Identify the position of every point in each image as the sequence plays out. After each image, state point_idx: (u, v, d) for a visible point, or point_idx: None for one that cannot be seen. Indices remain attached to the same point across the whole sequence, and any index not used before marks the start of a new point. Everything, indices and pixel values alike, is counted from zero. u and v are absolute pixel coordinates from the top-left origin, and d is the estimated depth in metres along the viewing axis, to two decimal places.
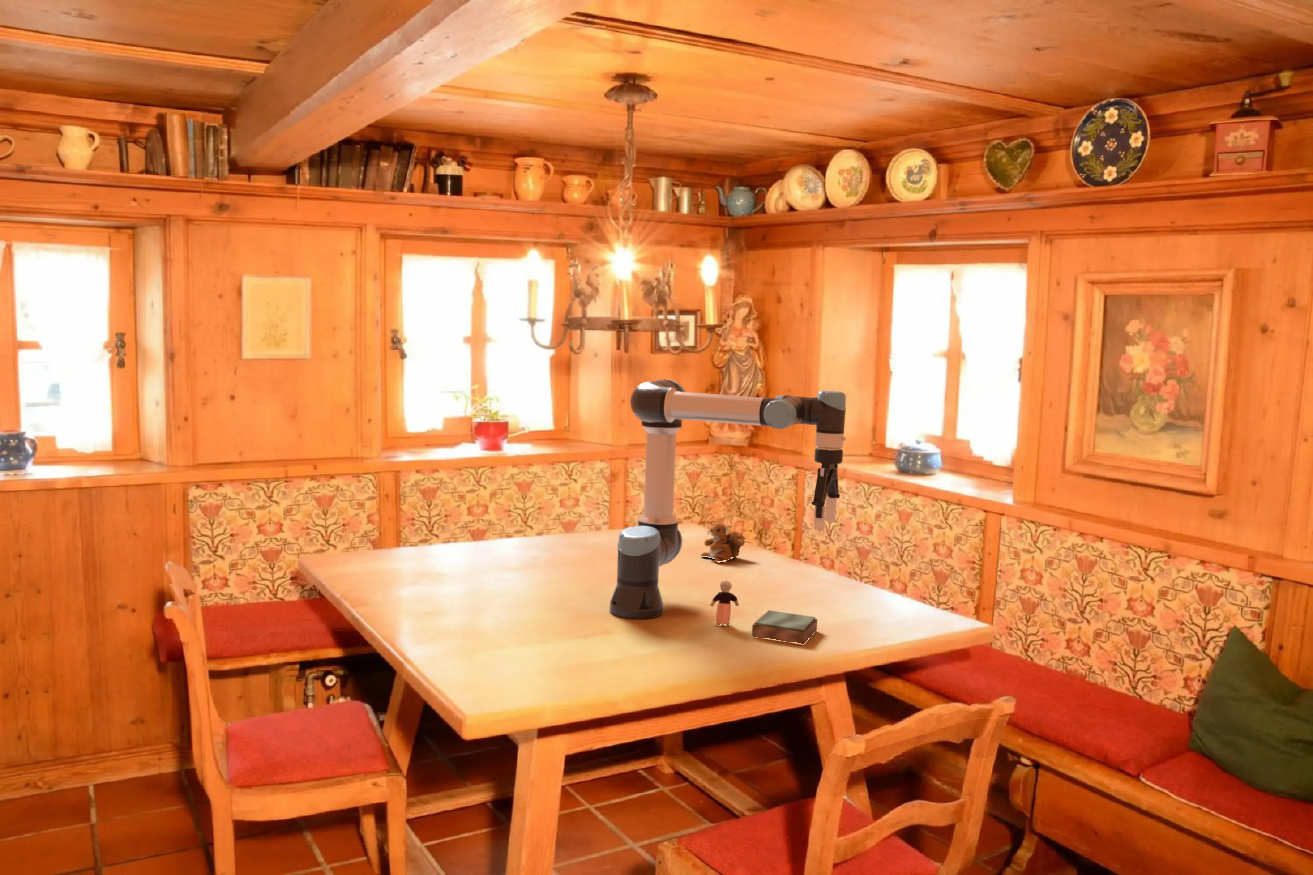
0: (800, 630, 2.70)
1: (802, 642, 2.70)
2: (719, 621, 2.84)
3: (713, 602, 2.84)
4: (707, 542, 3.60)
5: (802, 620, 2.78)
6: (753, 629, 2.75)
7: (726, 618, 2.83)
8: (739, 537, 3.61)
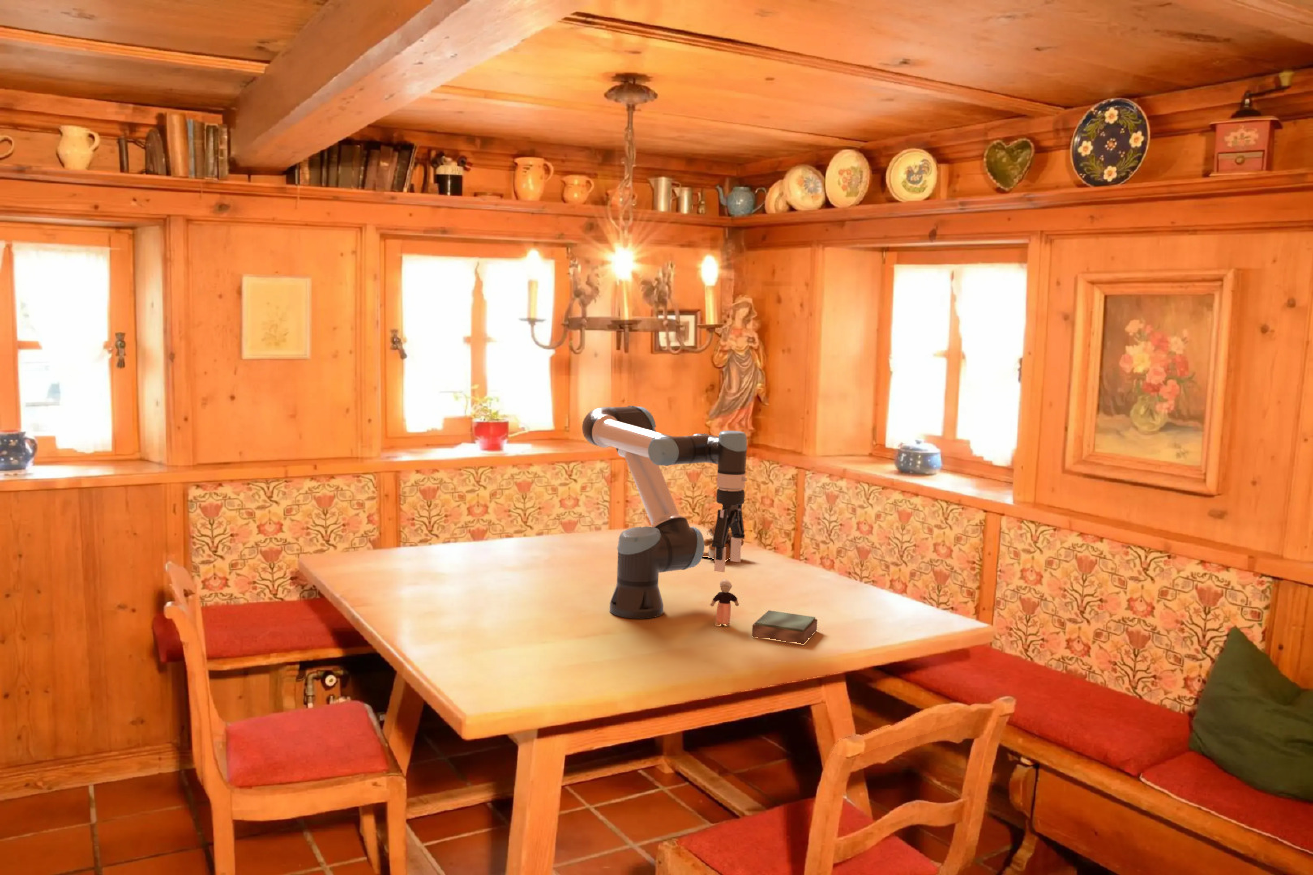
0: (800, 630, 2.70)
1: (802, 642, 2.70)
2: (719, 621, 2.84)
3: (713, 602, 2.84)
4: (706, 542, 3.60)
5: (802, 620, 2.78)
6: (753, 629, 2.75)
7: (726, 618, 2.83)
8: None
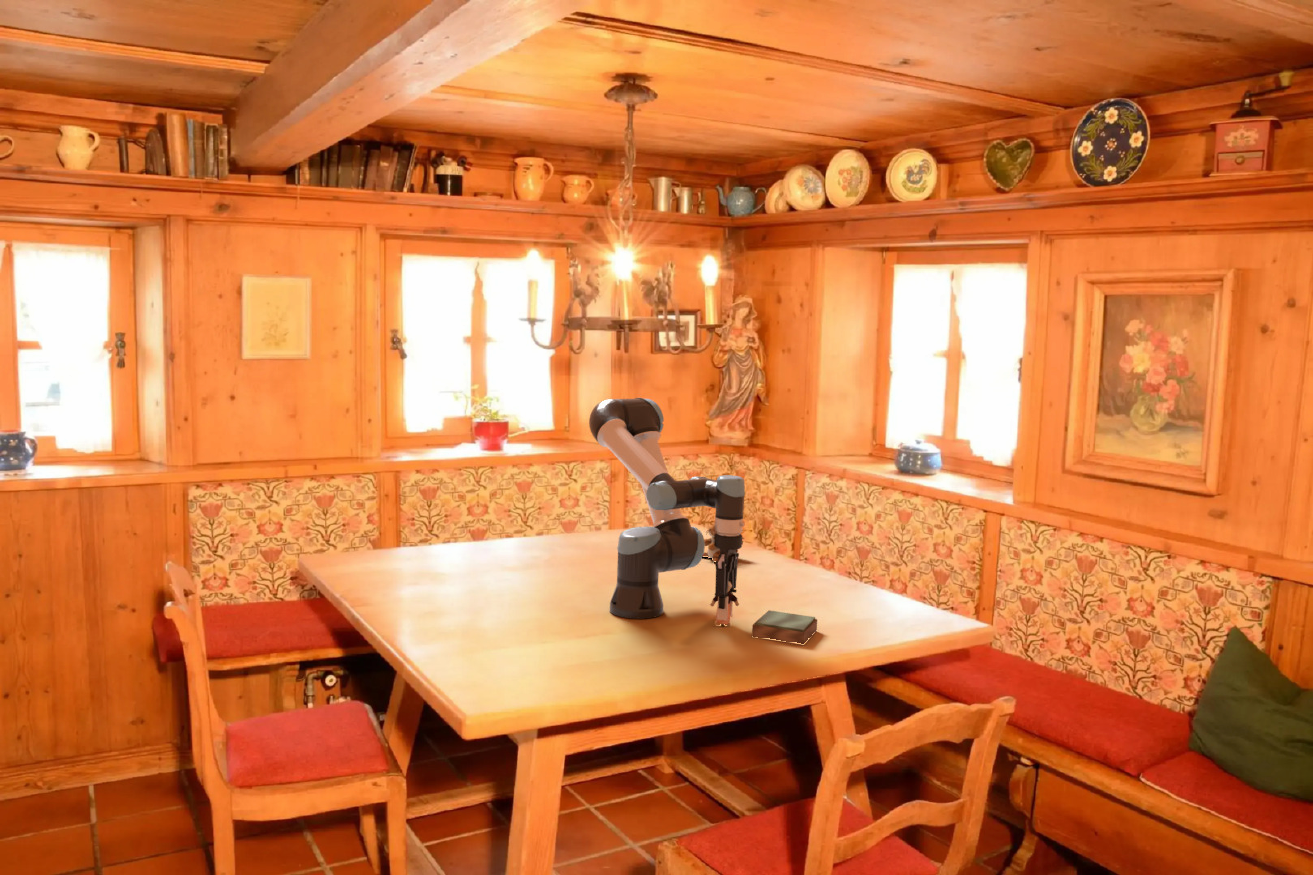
0: (800, 630, 2.70)
1: (802, 642, 2.70)
2: (719, 621, 2.84)
3: (713, 602, 2.84)
4: (705, 542, 3.60)
5: (802, 620, 2.78)
6: (753, 629, 2.75)
7: None
8: None
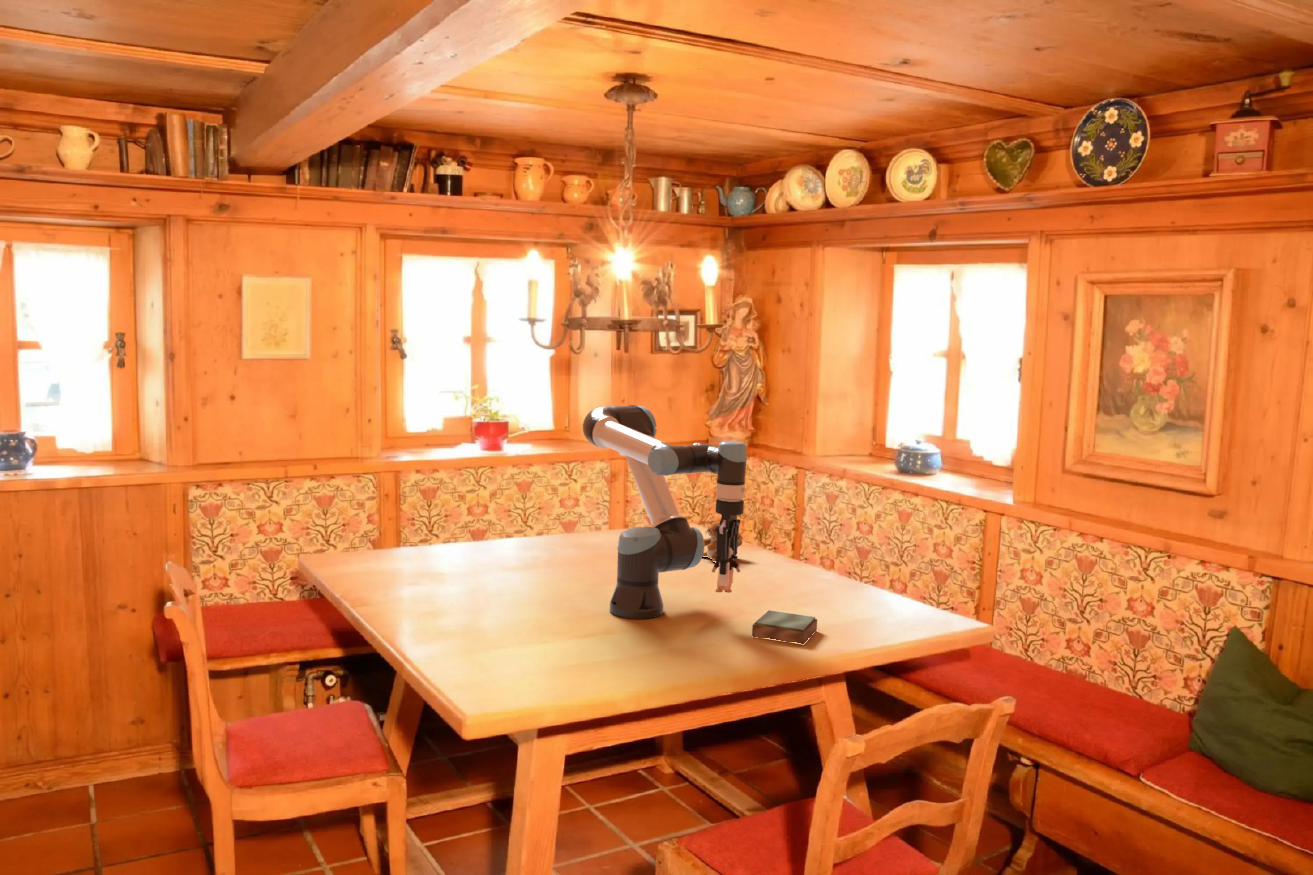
0: (800, 630, 2.70)
1: (802, 642, 2.70)
2: (720, 587, 2.84)
3: (714, 568, 2.83)
4: (704, 542, 3.60)
5: (802, 620, 2.78)
6: (753, 629, 2.75)
7: None
8: None
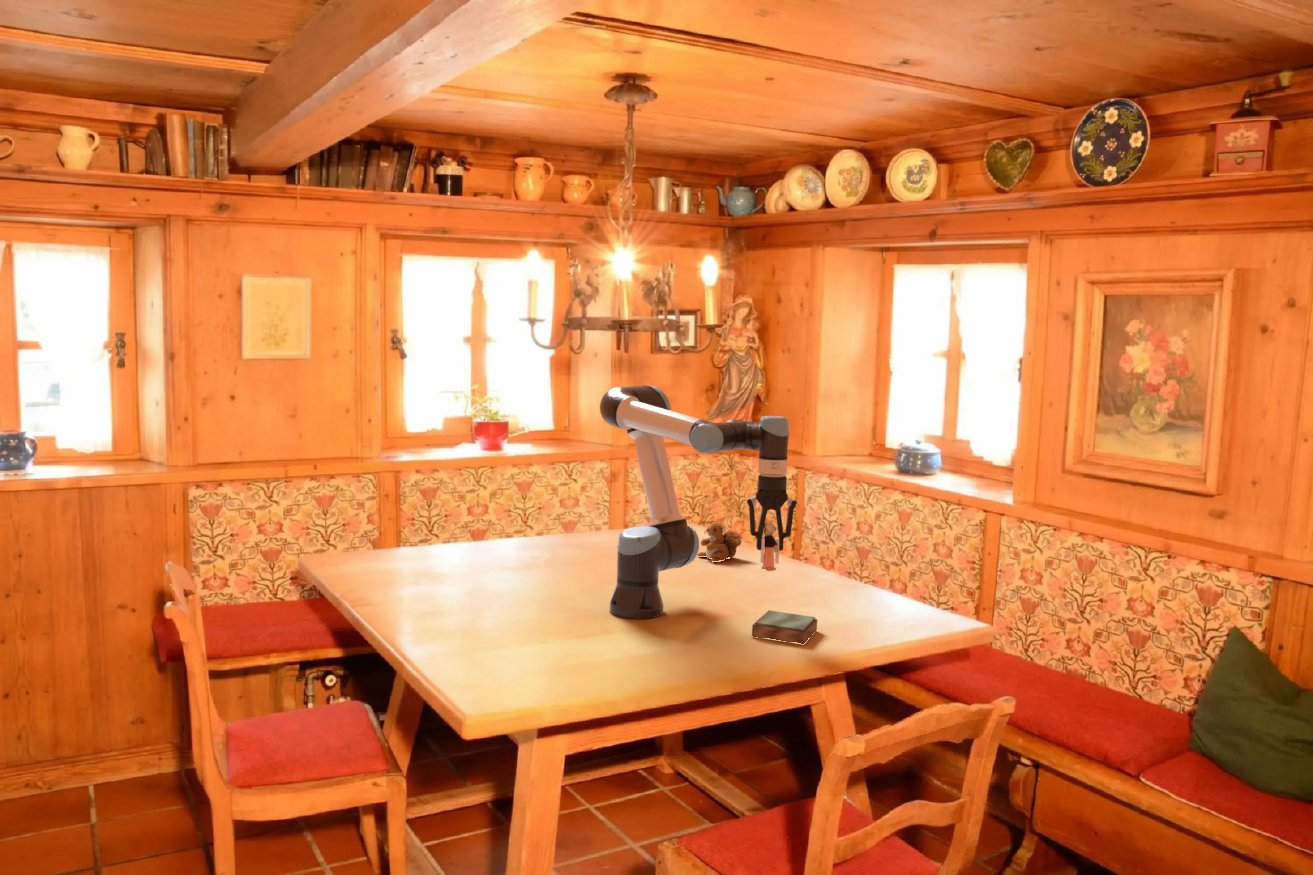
0: (800, 630, 2.70)
1: (802, 642, 2.70)
2: None
3: None
4: (704, 542, 3.60)
5: (802, 620, 2.78)
6: (753, 629, 2.75)
7: (764, 561, 2.77)
8: (736, 537, 3.61)
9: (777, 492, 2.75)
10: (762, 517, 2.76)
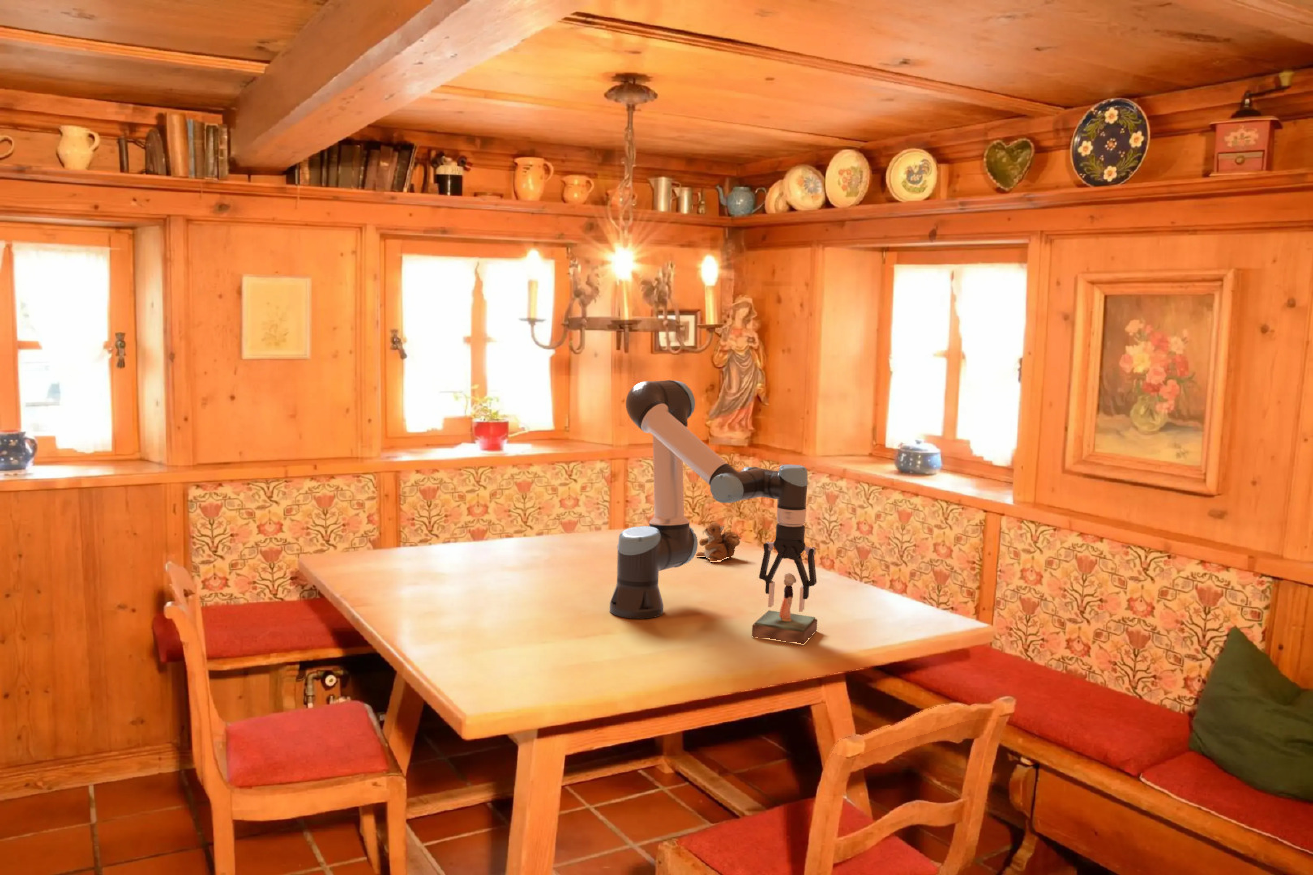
0: (800, 630, 2.70)
1: (802, 642, 2.70)
2: None
3: None
4: (702, 542, 3.60)
5: (802, 620, 2.78)
6: (753, 629, 2.75)
7: (780, 611, 2.78)
8: (734, 537, 3.61)
9: (792, 543, 2.75)
10: (774, 563, 2.77)
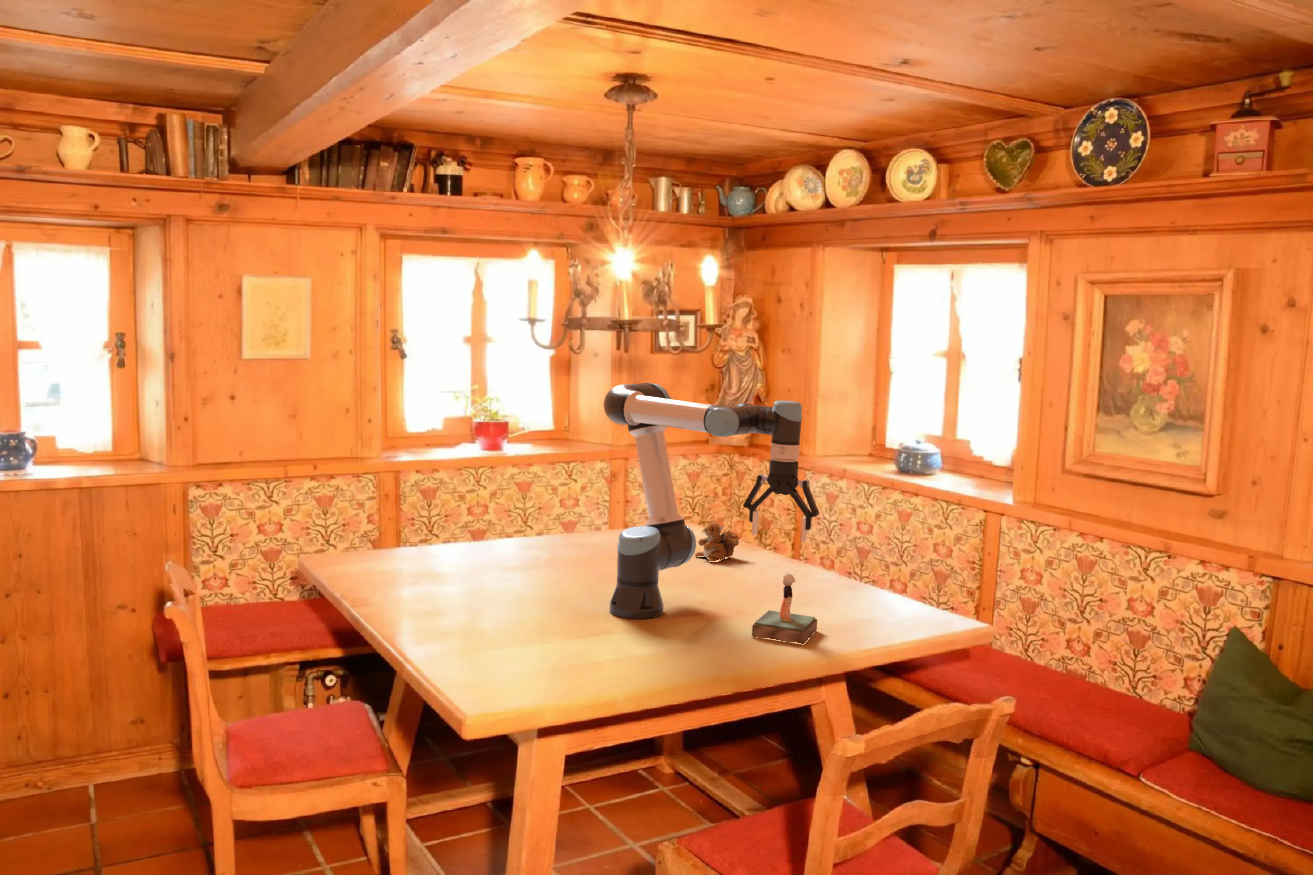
0: (800, 630, 2.70)
1: (802, 642, 2.70)
2: None
3: None
4: (701, 542, 3.60)
5: (802, 620, 2.78)
6: (753, 629, 2.75)
7: (780, 611, 2.78)
8: (733, 537, 3.61)
9: (785, 481, 2.76)
10: (763, 495, 2.79)
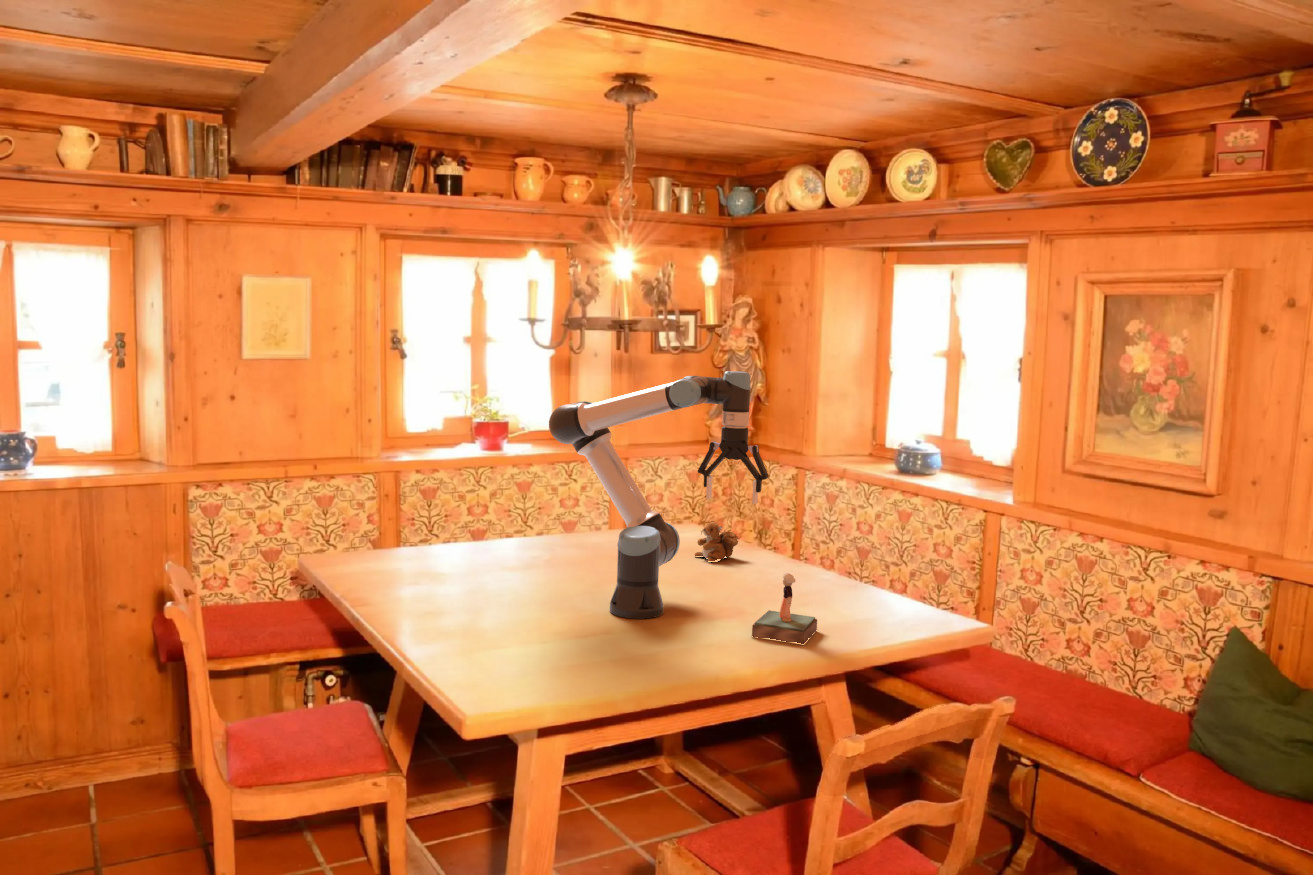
0: (800, 630, 2.70)
1: (802, 642, 2.70)
2: None
3: None
4: (700, 541, 3.60)
5: (802, 620, 2.78)
6: (753, 629, 2.75)
7: (780, 611, 2.78)
8: (732, 537, 3.61)
9: (736, 446, 2.93)
10: (716, 460, 2.95)
